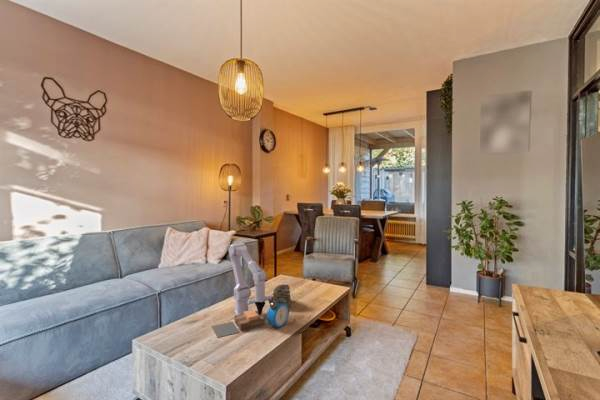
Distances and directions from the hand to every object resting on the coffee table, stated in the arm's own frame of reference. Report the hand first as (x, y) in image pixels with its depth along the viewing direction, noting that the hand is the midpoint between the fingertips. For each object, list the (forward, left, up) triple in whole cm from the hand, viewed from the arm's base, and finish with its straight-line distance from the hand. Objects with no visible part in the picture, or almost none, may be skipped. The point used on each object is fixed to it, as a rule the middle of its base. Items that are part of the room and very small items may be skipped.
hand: (259, 313), depth 173 cm
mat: (0, -20, -5) cm, 21 cm away
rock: (-16, +22, -5) cm, 28 cm away
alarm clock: (+10, +8, -5) cm, 13 cm away
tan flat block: (0, -6, -5) cm, 8 cm away
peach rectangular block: (0, -5, -1) cm, 6 cm away
